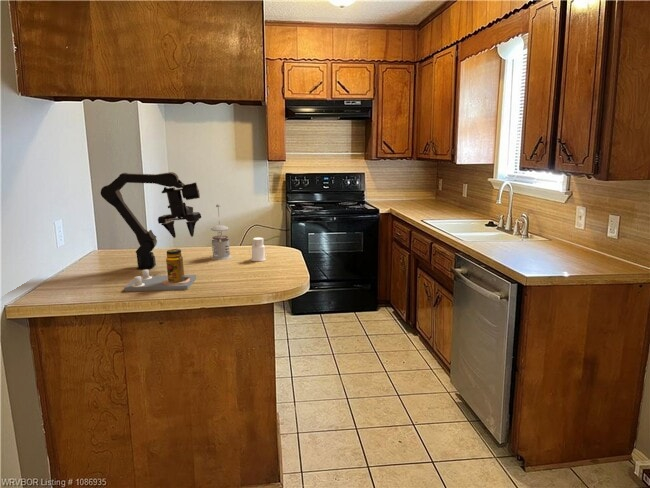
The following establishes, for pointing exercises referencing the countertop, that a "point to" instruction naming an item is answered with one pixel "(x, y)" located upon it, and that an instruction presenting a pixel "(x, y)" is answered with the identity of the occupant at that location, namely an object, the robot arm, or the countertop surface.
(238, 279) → the countertop surface
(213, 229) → the french press
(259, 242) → the downlight
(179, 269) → the condiment
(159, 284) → the board
